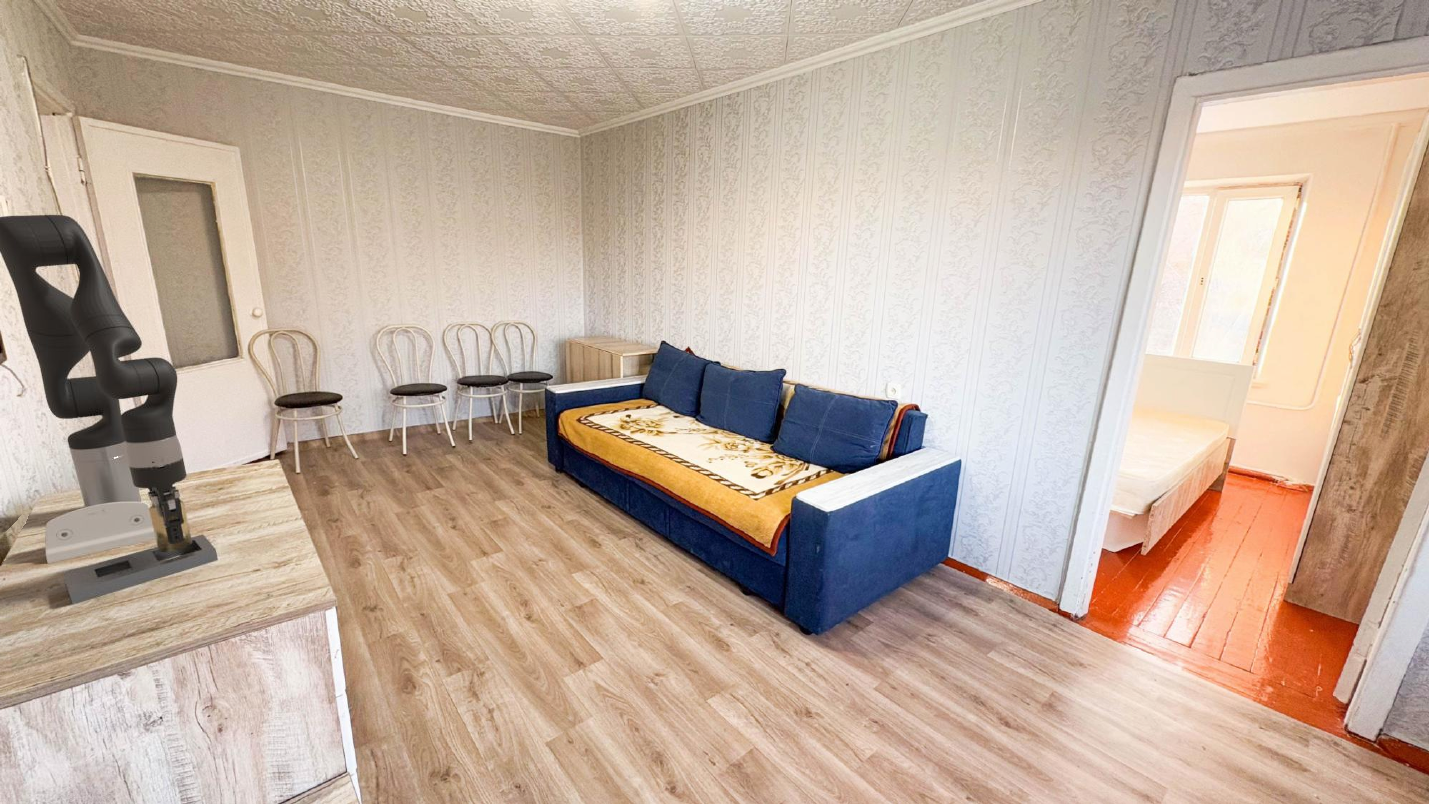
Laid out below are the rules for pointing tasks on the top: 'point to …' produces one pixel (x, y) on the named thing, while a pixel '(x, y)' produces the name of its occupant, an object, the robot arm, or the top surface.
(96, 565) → the grey flat block
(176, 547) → the cylinder
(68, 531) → the grey curved housing
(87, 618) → the top surface
